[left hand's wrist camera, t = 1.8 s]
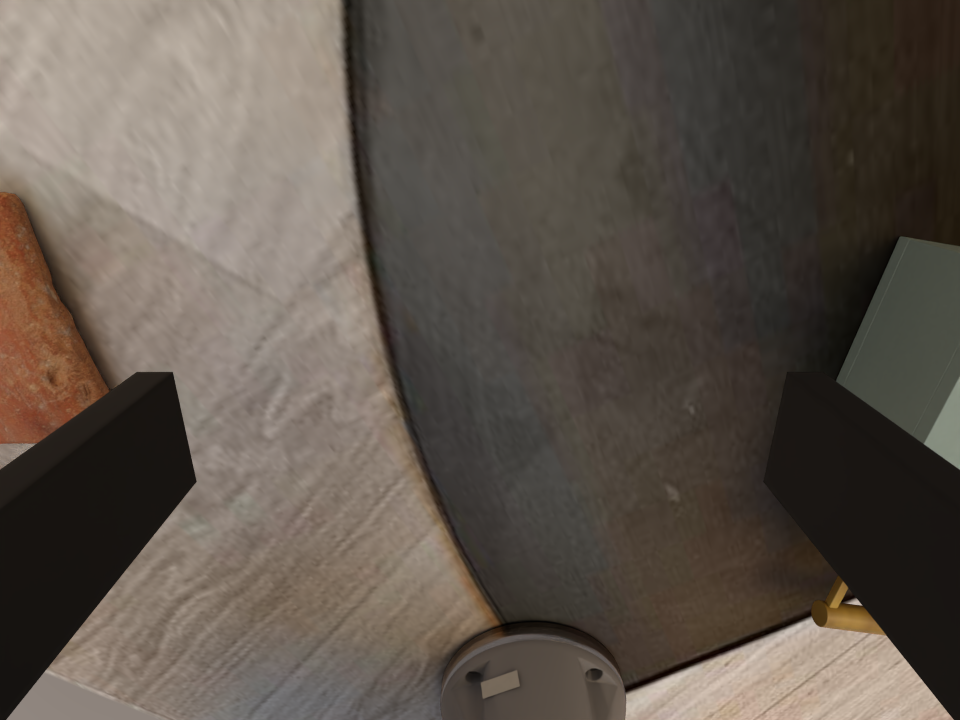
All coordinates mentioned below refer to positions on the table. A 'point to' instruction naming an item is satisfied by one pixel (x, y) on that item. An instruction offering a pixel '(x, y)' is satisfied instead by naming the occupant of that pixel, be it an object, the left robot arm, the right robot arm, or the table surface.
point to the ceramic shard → (36, 340)
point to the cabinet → (913, 346)
